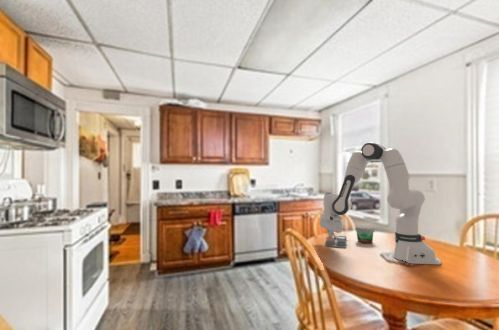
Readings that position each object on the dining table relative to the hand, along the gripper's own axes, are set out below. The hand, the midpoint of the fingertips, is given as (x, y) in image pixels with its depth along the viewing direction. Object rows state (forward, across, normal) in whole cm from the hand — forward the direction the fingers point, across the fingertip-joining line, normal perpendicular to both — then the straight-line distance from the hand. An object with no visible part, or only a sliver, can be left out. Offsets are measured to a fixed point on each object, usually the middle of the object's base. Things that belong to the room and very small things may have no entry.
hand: (330, 236), depth 182 cm
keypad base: (+5, -3, +7) cm, 9 cm away
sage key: (+4, -6, +14) cm, 16 cm away
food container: (+5, +6, +24) cm, 26 cm away
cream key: (+3, -11, +9) cm, 14 cm away
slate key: (+3, +5, +5) cm, 8 cm away
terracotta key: (+3, 0, 0) cm, 3 cm away
